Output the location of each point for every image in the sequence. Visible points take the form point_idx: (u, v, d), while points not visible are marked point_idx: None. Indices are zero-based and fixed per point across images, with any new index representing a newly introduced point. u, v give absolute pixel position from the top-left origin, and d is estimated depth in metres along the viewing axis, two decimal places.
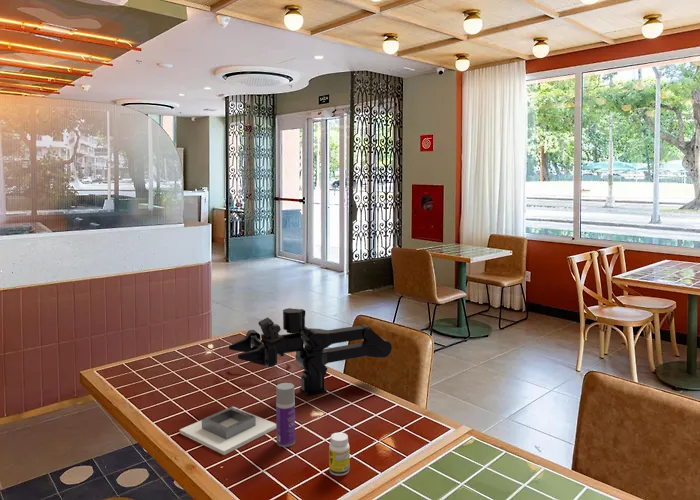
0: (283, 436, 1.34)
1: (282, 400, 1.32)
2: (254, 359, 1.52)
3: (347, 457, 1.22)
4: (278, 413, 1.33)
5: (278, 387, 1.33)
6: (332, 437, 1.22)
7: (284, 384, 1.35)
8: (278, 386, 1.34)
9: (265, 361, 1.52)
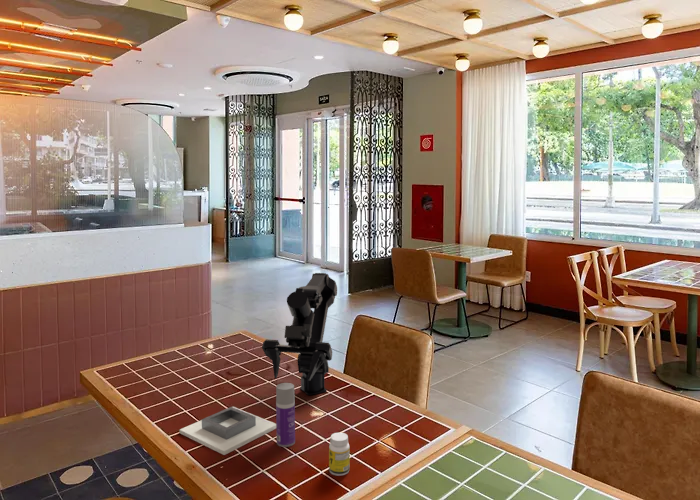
0: (283, 436, 1.34)
1: (282, 400, 1.32)
2: (317, 366, 1.45)
3: (347, 457, 1.22)
4: (278, 413, 1.33)
5: (278, 387, 1.33)
6: (332, 437, 1.22)
7: (284, 384, 1.35)
8: (278, 386, 1.34)
9: (326, 359, 1.46)
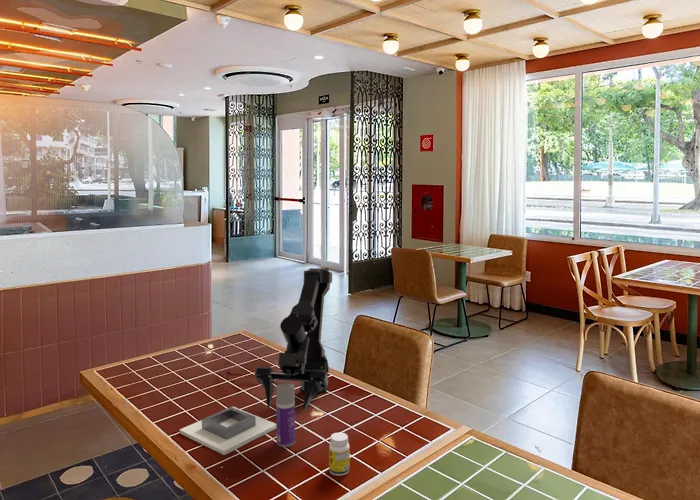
0: (283, 436, 1.34)
1: (282, 400, 1.32)
2: (312, 395, 1.38)
3: (347, 457, 1.22)
4: (278, 413, 1.33)
5: (278, 387, 1.33)
6: (332, 437, 1.22)
7: (284, 384, 1.35)
8: (278, 386, 1.34)
9: (321, 387, 1.40)
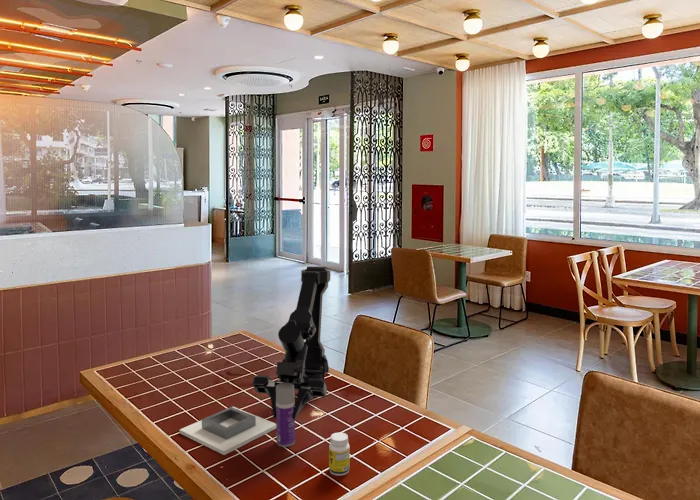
0: (283, 436, 1.34)
1: (282, 400, 1.32)
2: (302, 404, 1.37)
3: (347, 457, 1.22)
4: (278, 413, 1.33)
5: (278, 387, 1.33)
6: (332, 437, 1.22)
7: (284, 384, 1.35)
8: (278, 386, 1.34)
9: None
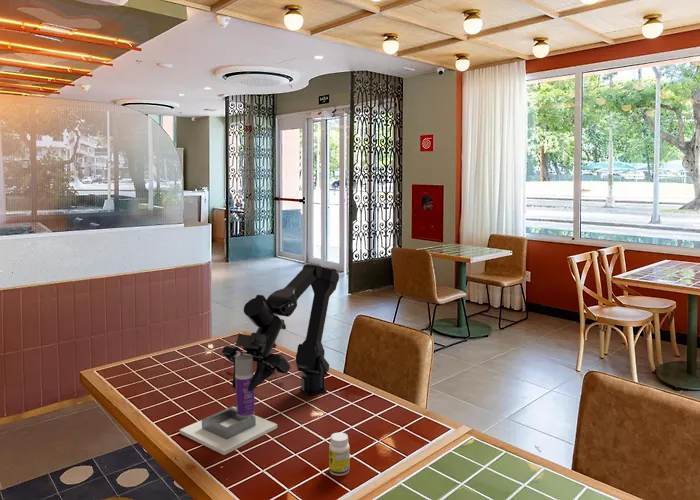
0: (240, 406, 1.36)
1: (238, 370, 1.35)
2: (262, 378, 1.38)
3: (347, 457, 1.22)
4: (235, 383, 1.36)
5: (236, 358, 1.36)
6: (332, 437, 1.22)
7: (244, 356, 1.38)
8: (237, 357, 1.37)
9: (273, 371, 1.39)
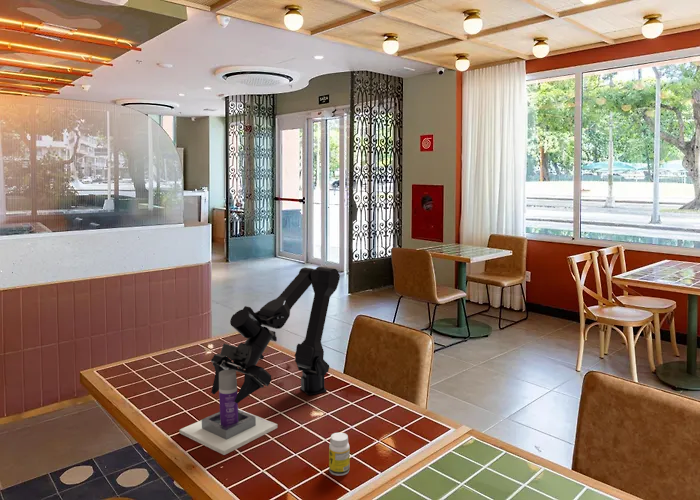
0: (222, 419, 1.40)
1: (220, 385, 1.39)
2: (250, 390, 1.39)
3: (347, 457, 1.22)
4: (219, 397, 1.41)
5: (220, 372, 1.40)
6: (332, 437, 1.22)
7: (228, 371, 1.41)
8: (222, 371, 1.41)
9: (261, 384, 1.39)
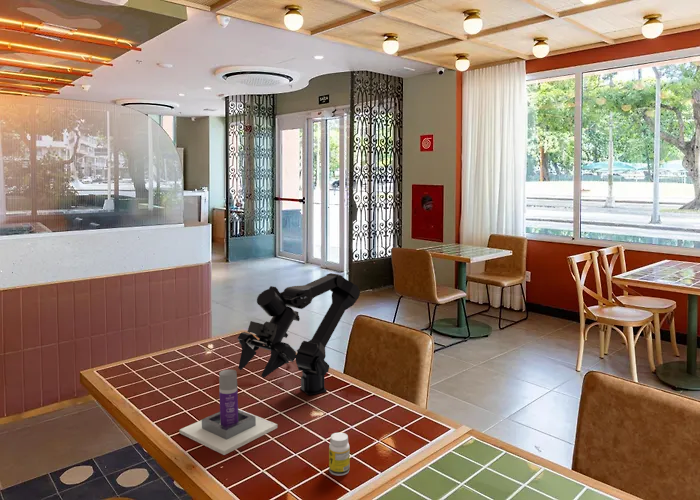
0: (222, 419, 1.40)
1: (221, 385, 1.39)
2: (276, 365, 1.46)
3: (347, 457, 1.22)
4: None
5: (221, 372, 1.40)
6: (332, 437, 1.22)
7: (229, 371, 1.41)
8: (222, 371, 1.41)
9: (286, 359, 1.46)
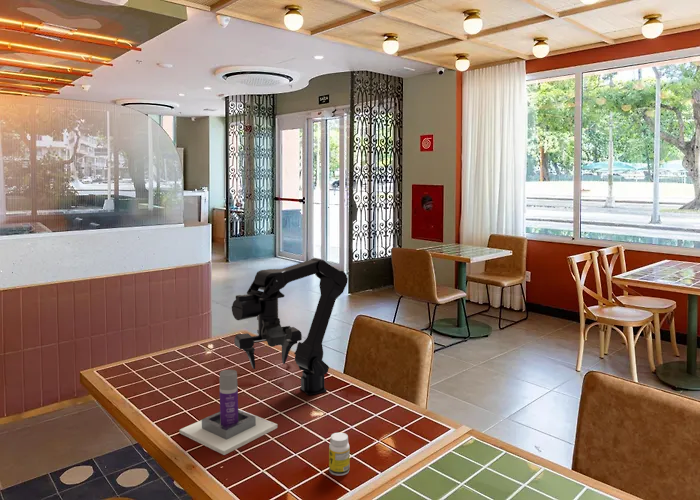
0: (222, 419, 1.40)
1: (221, 385, 1.39)
2: None
3: (347, 457, 1.22)
4: None
5: (221, 372, 1.40)
6: (332, 437, 1.22)
7: (229, 371, 1.41)
8: (222, 371, 1.41)
9: None
